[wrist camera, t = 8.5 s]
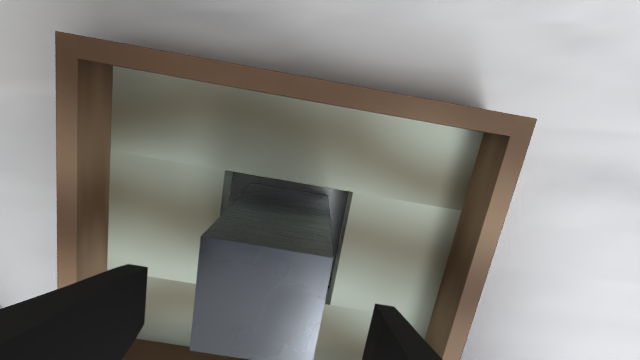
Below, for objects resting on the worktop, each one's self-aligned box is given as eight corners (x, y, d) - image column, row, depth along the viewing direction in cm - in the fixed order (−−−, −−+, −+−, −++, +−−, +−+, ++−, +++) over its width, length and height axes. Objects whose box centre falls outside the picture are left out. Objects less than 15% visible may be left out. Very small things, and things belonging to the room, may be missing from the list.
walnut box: (415, 372, 19) (437, 431, 15) (108, 325, 18) (58, 376, 14) (488, 116, 15) (537, 119, 12) (117, 49, 15) (55, 31, 11)
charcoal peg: (315, 265, 17) (311, 369, 10) (242, 253, 17) (189, 350, 10) (328, 195, 16) (333, 257, 9) (251, 182, 16) (200, 236, 9)
